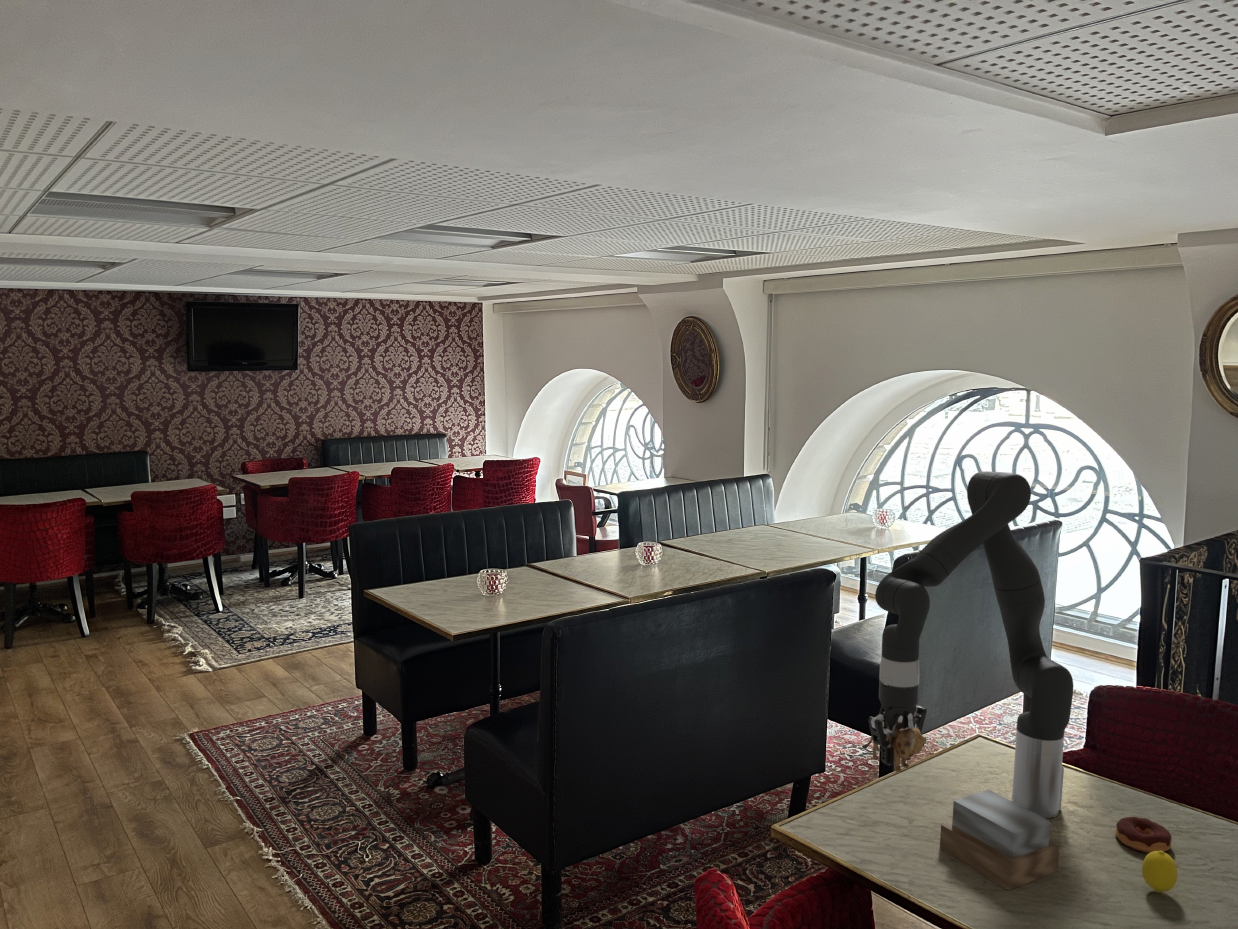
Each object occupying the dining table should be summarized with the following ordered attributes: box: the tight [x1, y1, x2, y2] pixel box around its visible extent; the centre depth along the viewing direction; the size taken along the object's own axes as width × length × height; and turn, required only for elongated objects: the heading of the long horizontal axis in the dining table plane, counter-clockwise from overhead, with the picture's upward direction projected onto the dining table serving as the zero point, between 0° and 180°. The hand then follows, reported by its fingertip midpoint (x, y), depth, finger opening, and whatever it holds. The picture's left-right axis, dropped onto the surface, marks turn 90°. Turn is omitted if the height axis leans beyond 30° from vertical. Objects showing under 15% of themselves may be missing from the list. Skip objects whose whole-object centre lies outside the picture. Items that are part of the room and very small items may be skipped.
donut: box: [1114, 816, 1173, 854], centre depth 182 cm, size 10×10×4 cm
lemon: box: [1141, 850, 1178, 894], centre depth 165 cm, size 6×6×8 cm
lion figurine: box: [861, 727, 928, 773], centre depth 182 cm, size 15×5×9 cm, turn 35°
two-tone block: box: [939, 789, 1061, 891], centre depth 175 cm, size 14×16×10 cm
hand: (896, 761), depth 181 cm, fingers closed on lion figurine, 4 cm apart
